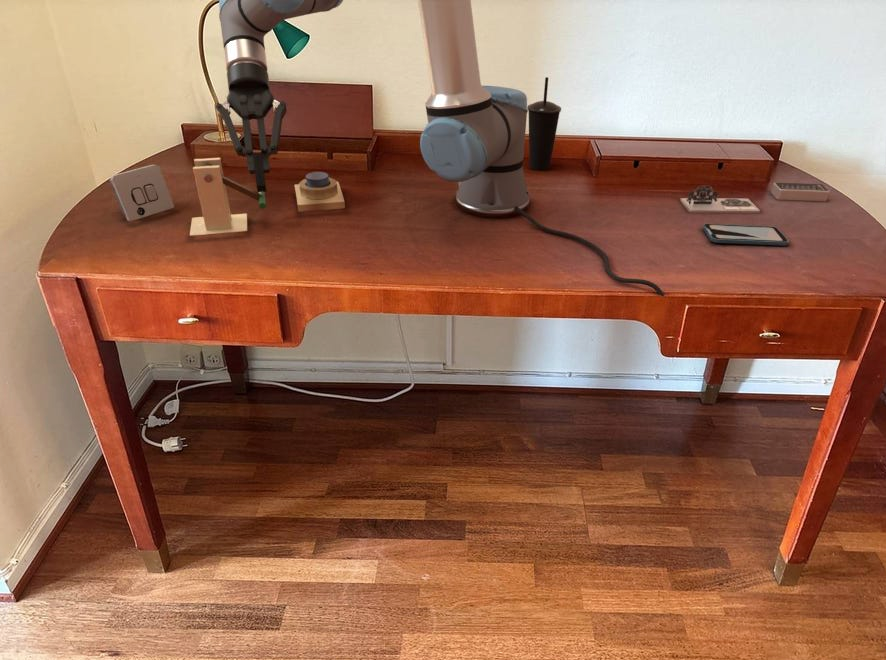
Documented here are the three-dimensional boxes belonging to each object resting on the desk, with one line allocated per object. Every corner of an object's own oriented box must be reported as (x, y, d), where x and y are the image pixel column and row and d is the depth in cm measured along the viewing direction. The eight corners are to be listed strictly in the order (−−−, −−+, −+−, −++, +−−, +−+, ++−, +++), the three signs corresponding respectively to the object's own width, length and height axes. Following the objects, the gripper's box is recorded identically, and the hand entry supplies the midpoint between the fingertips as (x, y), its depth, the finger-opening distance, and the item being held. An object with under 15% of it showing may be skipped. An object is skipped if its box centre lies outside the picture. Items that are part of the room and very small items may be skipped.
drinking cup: (539, 159, 166) (547, 72, 155) (562, 168, 161) (571, 79, 150) (516, 165, 162) (522, 76, 151) (538, 174, 157) (546, 83, 146)
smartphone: (790, 242, 129) (712, 239, 129) (789, 247, 130) (711, 244, 129) (776, 226, 135) (701, 223, 135) (774, 230, 136) (700, 227, 135)
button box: (339, 192, 145) (337, 172, 142) (345, 213, 136) (343, 191, 134) (296, 195, 143) (293, 175, 140) (299, 216, 134) (296, 195, 132)
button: (328, 180, 139) (327, 171, 138) (330, 188, 136) (329, 178, 135) (306, 181, 138) (305, 172, 137) (307, 189, 135) (306, 180, 134)
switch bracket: (248, 219, 133) (236, 153, 125) (248, 236, 126) (236, 168, 119) (193, 223, 130) (178, 157, 123) (190, 241, 124) (174, 172, 116)
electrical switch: (131, 227, 128) (115, 178, 123) (118, 222, 131) (101, 173, 126) (177, 212, 134) (163, 165, 129) (163, 208, 137) (149, 161, 132)
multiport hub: (770, 192, 153) (773, 182, 152) (819, 193, 153) (822, 183, 152) (777, 199, 149) (780, 189, 148) (827, 201, 149) (830, 191, 148)
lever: (261, 198, 130) (267, 187, 130) (262, 213, 125) (268, 202, 124) (199, 168, 124) (204, 156, 123) (197, 181, 119) (202, 170, 118)
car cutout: (689, 212, 142) (694, 191, 140) (680, 200, 148) (684, 180, 145) (759, 212, 143) (765, 192, 141) (747, 200, 149) (752, 180, 146)
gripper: (284, 82, 135) (298, 194, 132) (214, 84, 132) (227, 199, 128) (281, 59, 128) (297, 177, 124) (207, 60, 125) (221, 182, 121)
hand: (261, 188), depth 126 cm, fingers closed
